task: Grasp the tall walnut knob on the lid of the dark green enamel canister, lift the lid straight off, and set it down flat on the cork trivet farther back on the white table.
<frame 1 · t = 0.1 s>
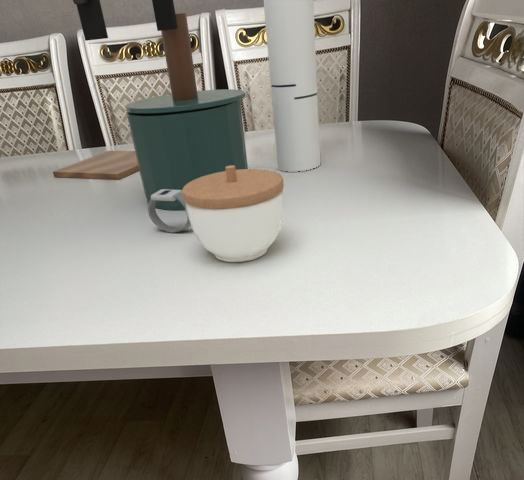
hand: (135, 34, 63), 22 cm above the table, tool pointing down, fingers open, 13 cm apart
trivet: (113, 166, 102), on the table
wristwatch: (175, 232, 68), on the table
lid: (186, 102, 74), point 13 cm above the table, touching canister, gripper
canister: (198, 193, 81), on the table
trinket box: (241, 253, 59), on the table
cylindrical container: (299, 167, 88), on the table
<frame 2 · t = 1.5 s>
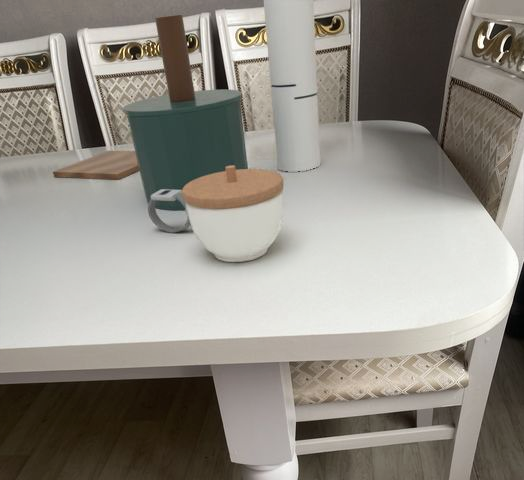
lid: (183, 104, 75), point 12 cm above the table, touching canister
everything else where it was.
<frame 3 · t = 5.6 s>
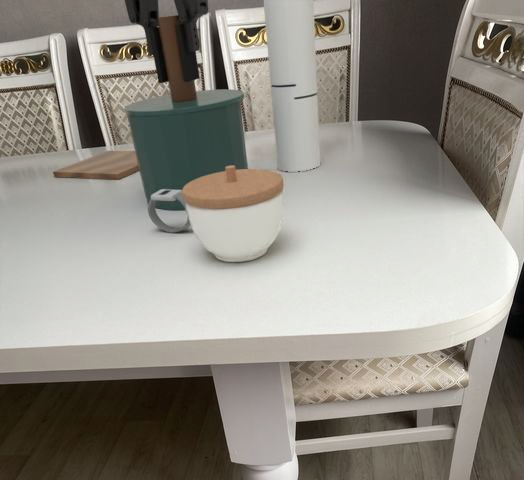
hand: (179, 80, 72), 16 cm above the table, tool pointing down, fingers closed on lid, 4 cm apart
lid: (185, 104, 74), point 12 cm above the table, touching canister, gripper
everything else where it was.
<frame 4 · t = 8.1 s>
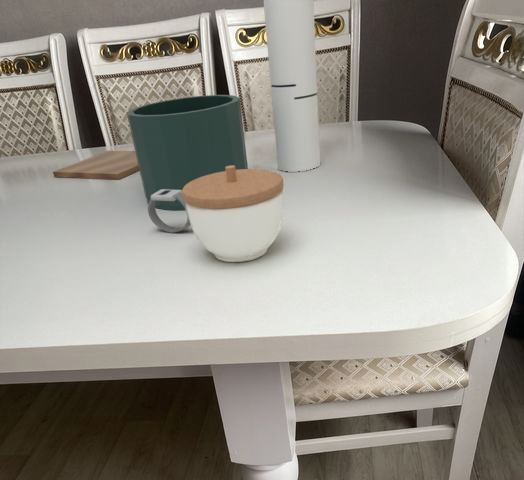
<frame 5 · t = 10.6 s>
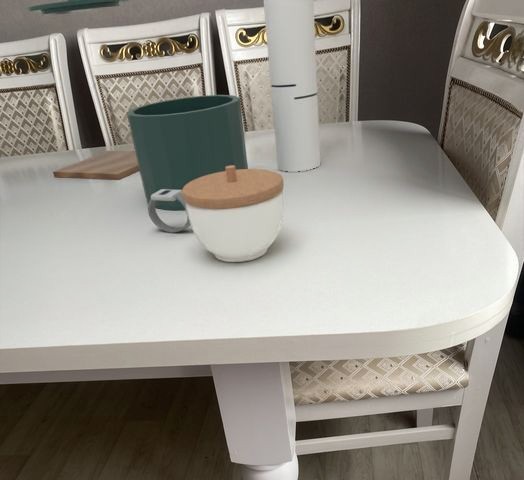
lid: (80, 6, 87), point 26 cm above the table, touching gripper
everything else where it was.
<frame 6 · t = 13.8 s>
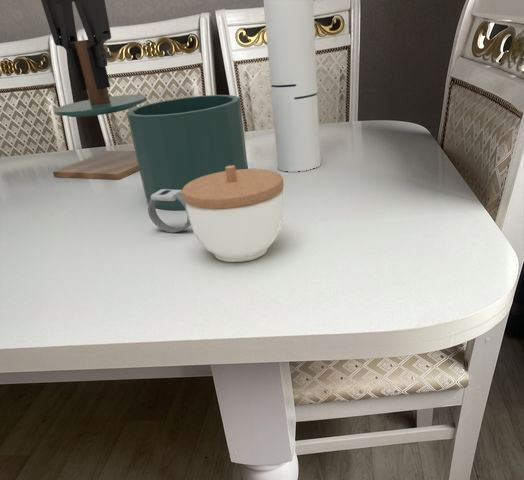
hand: (94, 88, 95), 14 cm above the table, tool pointing down, fingers closed on lid, 4 cm apart
lid: (101, 106, 97), point 11 cm above the table, touching gripper
everything else where it was.
when the fingers open (5 cm above the table, at t = 16.0 s): lid stays where it is, resting on trivet.
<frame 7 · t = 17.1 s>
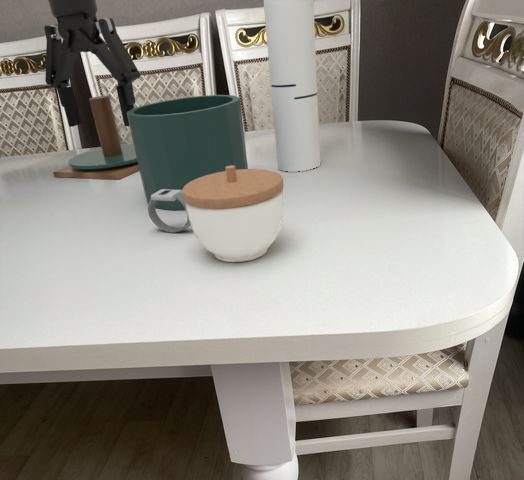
hand: (102, 125, 98), 8 cm above the table, tool pointing down, fingers open, 13 cm apart
lid: (113, 157, 102), point 2 cm above the table, touching trivet
everything else where it was.
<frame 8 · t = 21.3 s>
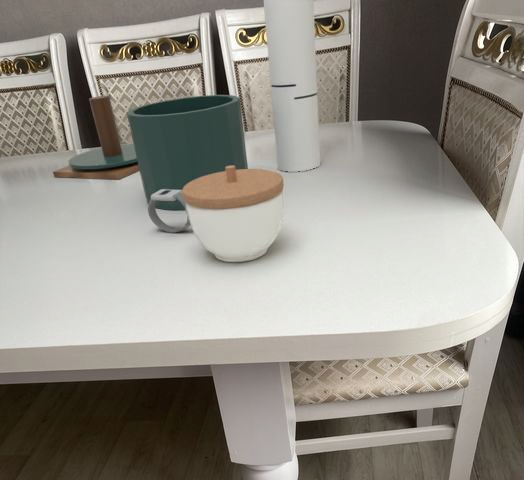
nothing on the table moved.
at the end: lid inside the target area on the trivet (0.5 cm from its centre), point 1.6 cm above the trivet's base; lid tilted 0°; the gripper is holding nothing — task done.
